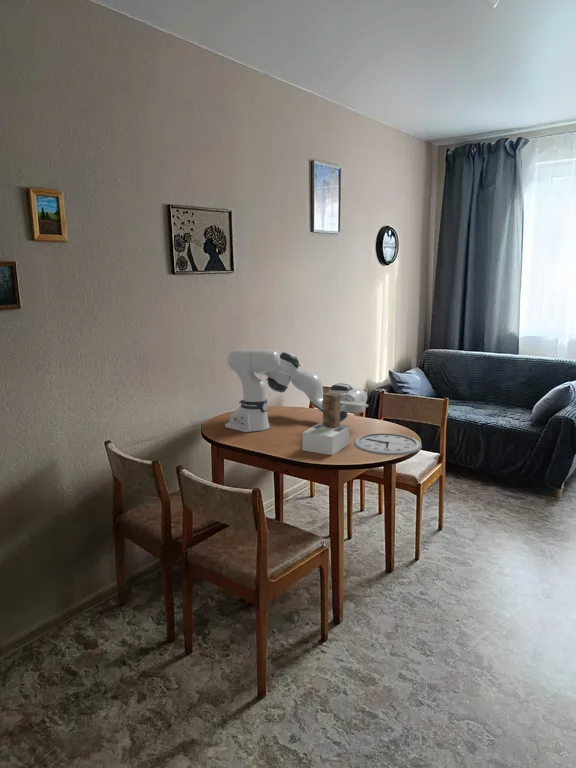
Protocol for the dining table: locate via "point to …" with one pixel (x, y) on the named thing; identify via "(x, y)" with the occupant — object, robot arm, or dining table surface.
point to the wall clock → (387, 444)
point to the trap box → (326, 439)
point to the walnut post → (331, 409)
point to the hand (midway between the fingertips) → (336, 409)
